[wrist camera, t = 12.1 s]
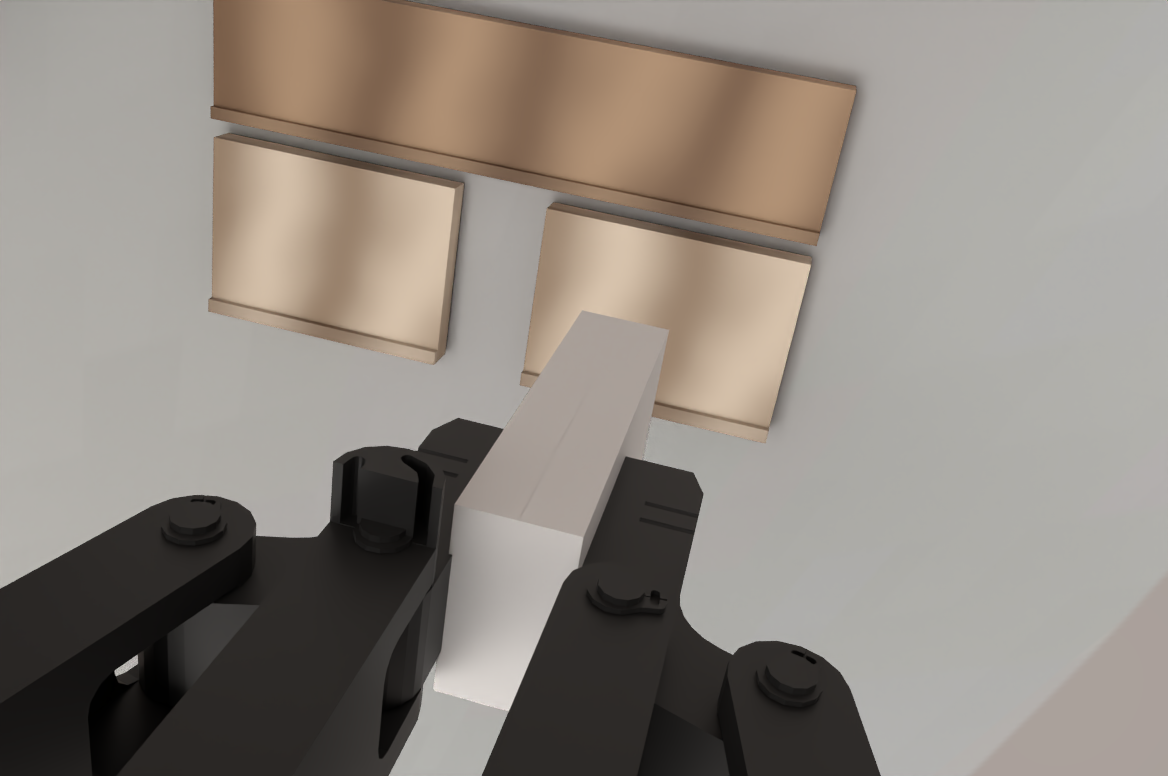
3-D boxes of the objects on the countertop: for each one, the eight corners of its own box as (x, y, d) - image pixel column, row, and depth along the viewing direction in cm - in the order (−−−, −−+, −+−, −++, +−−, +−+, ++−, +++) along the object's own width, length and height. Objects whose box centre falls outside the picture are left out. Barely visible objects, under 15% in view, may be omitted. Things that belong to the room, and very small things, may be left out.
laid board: (229, 112, 46) (210, 118, 44) (230, -33, 43) (210, -32, 42) (817, 235, 42) (816, 246, 41) (855, 86, 40) (856, 91, 38)
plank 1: (225, 301, 49) (208, 311, 48) (228, 133, 46) (210, 138, 45) (445, 353, 48) (433, 364, 47) (464, 183, 45) (452, 190, 43)
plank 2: (528, 372, 48) (519, 385, 46) (553, 202, 44) (545, 210, 43) (767, 428, 46) (765, 443, 45) (811, 256, 43) (811, 266, 41)
